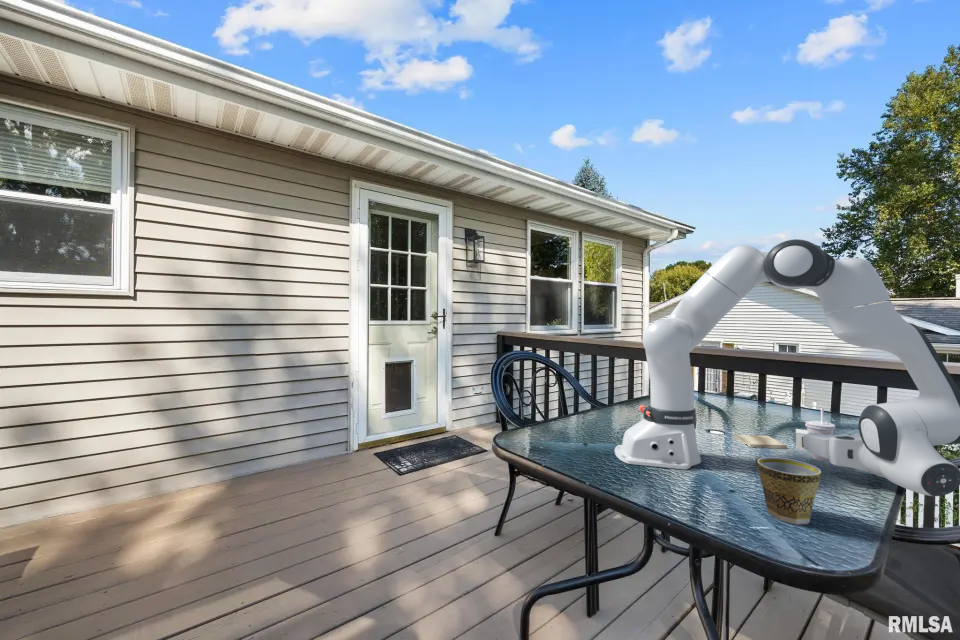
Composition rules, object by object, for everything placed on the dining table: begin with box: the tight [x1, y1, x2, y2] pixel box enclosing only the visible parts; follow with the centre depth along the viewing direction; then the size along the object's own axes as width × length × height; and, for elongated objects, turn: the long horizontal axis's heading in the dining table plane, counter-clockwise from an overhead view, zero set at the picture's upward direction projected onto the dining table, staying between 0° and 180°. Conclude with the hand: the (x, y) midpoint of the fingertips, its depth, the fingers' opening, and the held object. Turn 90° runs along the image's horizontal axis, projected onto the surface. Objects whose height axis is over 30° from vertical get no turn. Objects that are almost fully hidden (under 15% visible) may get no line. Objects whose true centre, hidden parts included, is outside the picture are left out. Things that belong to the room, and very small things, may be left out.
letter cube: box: [795, 428, 809, 452], centre depth 119 cm, size 5×5×5 cm
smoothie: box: [804, 407, 836, 462], centre depth 110 cm, size 6×6×14 cm
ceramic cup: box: [755, 456, 822, 525], centre depth 80 cm, size 13×10×10 cm
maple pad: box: [733, 434, 788, 450], centre depth 125 cm, size 10×10×1 cm
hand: (831, 436), depth 106 cm, fingers open, 8 cm apart
